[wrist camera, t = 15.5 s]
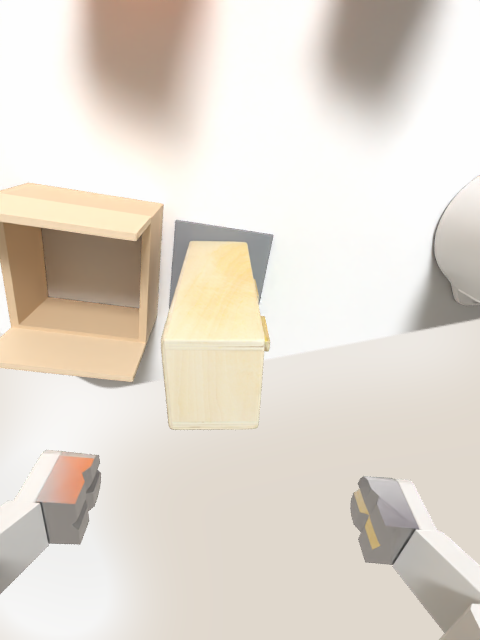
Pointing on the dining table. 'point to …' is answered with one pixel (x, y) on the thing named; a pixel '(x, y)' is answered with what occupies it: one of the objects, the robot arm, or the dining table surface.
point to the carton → (70, 315)
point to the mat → (202, 232)
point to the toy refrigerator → (214, 341)
